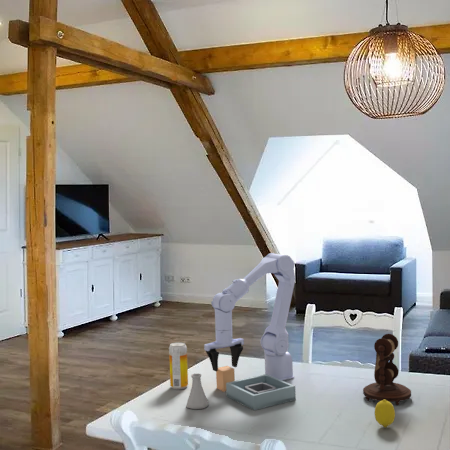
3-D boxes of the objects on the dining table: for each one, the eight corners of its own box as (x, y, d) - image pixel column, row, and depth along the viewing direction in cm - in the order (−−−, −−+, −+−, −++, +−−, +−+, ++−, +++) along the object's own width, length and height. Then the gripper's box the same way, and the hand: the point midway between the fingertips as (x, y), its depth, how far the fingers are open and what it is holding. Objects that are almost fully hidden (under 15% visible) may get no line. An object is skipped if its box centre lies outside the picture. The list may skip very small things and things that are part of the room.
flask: (212, 403, 207) (211, 372, 206) (204, 410, 200) (202, 379, 200) (191, 401, 210) (189, 370, 209) (182, 408, 203) (181, 377, 202)
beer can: (189, 384, 227) (187, 341, 226) (186, 390, 221) (185, 346, 220) (172, 384, 227) (170, 342, 226) (169, 389, 221) (167, 346, 220)
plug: (227, 385, 224) (227, 365, 224) (234, 389, 220) (234, 368, 220) (216, 388, 222) (216, 368, 221) (223, 391, 218) (222, 371, 217)
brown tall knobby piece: (371, 388, 216) (370, 329, 215) (416, 394, 209) (415, 333, 207) (356, 402, 204) (355, 339, 202) (403, 409, 196) (403, 343, 195)
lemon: (372, 424, 185) (371, 396, 184) (391, 423, 185) (390, 395, 185) (378, 431, 180) (378, 403, 179) (398, 430, 180) (397, 402, 179)
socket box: (266, 387, 221) (266, 374, 221) (295, 399, 208) (295, 385, 207) (226, 396, 213) (226, 382, 213) (253, 410, 199) (253, 395, 199)
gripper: (235, 323, 227) (236, 362, 228) (199, 329, 219) (200, 369, 220) (246, 327, 221) (247, 366, 222) (209, 333, 213) (210, 374, 214)
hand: (224, 368), depth 220 cm, fingers open, 7 cm apart
